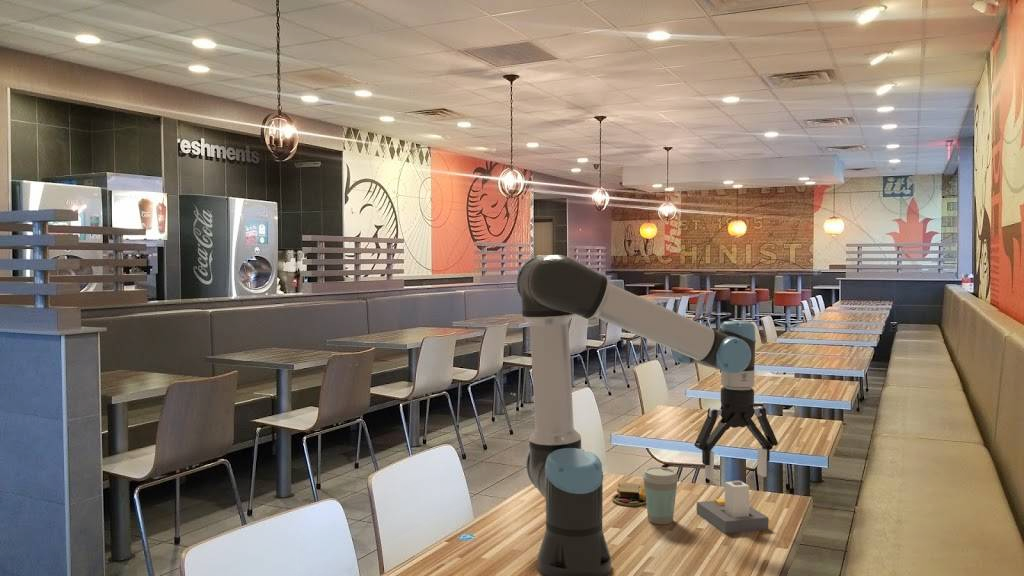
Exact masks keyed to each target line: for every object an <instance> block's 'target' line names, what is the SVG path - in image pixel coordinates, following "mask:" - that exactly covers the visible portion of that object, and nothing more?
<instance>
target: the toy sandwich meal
mask: <svg viewBox="0 0 1024 576" xmlns="http://www.w3.org/2000/svg"><path fill="white" fill-rule="evenodd" d="M640 486H641V485H640V484H637V483H633V482H619V483H618V488H617V489H616V492H617V493H616V494H614V495H613V496H612V497H611V500H612V501H613V502H614V503H615V504H617V505H620V506H626V507H637V506H638V507H639V506H642V505H645V504H646V496H645V488H642V489H641V491H640V488H641V487H640Z"/></svg>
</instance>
